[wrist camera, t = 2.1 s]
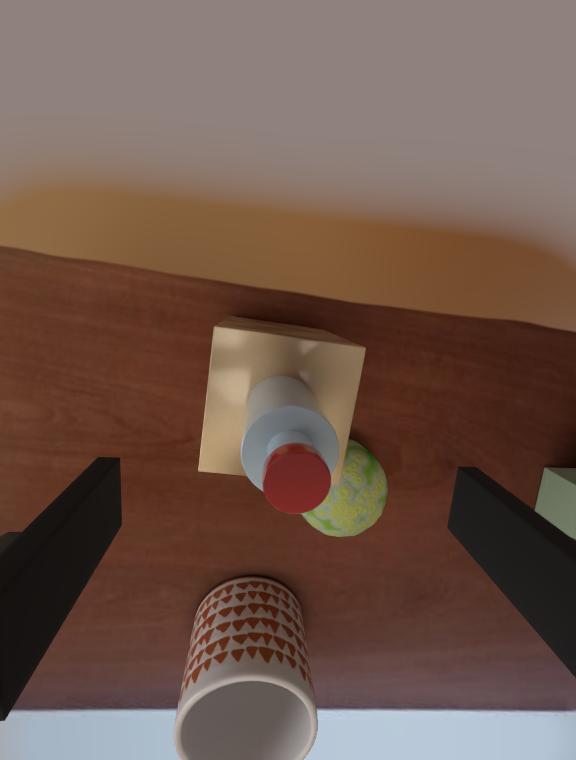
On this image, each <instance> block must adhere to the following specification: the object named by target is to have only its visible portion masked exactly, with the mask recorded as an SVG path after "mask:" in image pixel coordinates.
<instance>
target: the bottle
mask: <svg viewBox="0 0 576 760" xmlns="http://www.w3.org/2000/svg"><path fill="white" fill-rule="evenodd" d="M338 456H339V442H338V438H337V435H336V432H335V430H334V428H333V427H332V425H331V423H330V422H329V420H328V418H327V417H326V415H325V414H324V412H323V410H322V409H321V407H320V405H319V404H318V402H317V400H316V399H315V397H314V396H313V394H312V392H311V391H310V389H309V388H308V387H307V386H306V385H305V384H304V383H302V382H301V381H299V380H297V379H295V378H292V377H288V376H275V377H271V378H268V379H266V380H264V381H262V382H260V383H259V384H258V385H257V386H256V387H255V388H254V389H253V390H252V391H251V393H250V394H249V396H248V398H247V401H246V405H245V414H244V424H243V433H242V442H241V462H242V466H243V469H244V471H245V473H246V475H247V476H248V478H249V479H250V481H251V482H252V483H253V484H254V485H255V486H257V487H258V488H259V489H261V490H262V491H264V494H265V496H266V498H267V500H268V501H269V502H270V503H271V505H273V506H274V507H275V508H277V509H278V510H280V511H282V512H285V513H289V514H301V513H306V512H309V511H311V510H313V509H315V508H316V507H318V506H319V505H320V504H321V503H322V502H323V501H324V500H325V498H326V497H327V495H328V493H329V490H330V487H331V474H332V473H333V471H334V469H335V467H336V464H337V461H338Z"/></svg>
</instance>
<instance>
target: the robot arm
mask: <svg viewBox="0 0 576 760" xmlns="http://www.w3.org/2000/svg"><path fill="white" fill-rule="evenodd" d="M121 525H122V513H121V475H120V458H113V457H98V458H97V459H96V460H95V461H94V462H93V463H92V464H91V465H90V466H89V467H88V468H87V469H86V470H85V471H84V472H83V473H82V474H81V475H79V476H78V477H77V478H76V479H75V480H74V481H73V482H72V483H71V484H70V485H69V486H68V487H67V488H66V489H65V490H64V491H63V492H62V493H61V494H60V495H59V496H58V497H57V498H56V499H55V500H54V501H53V502H52V503H51V504H50V505H49V506H48V507H47V508H46V509H45V510H44V511H43V512H42V513H41V514H40V515H39V516H38V517H37V518H36V519H35V520H34V521H33V522H32V523H31V524H30V525H29V526H28V527H27V528H26V529H25V530H24V531H23V532H7V533H6V534H4V535H2V536H0V721H4V720H5V719H6V717H7V716H8V714H9V712H10V711H11V709H12V707H13V706H14V704H15V702H16V701H17V699H18V697H19V696H20V694H21V692H22V691H23V689H24V687H25V686H26V684H27V682H28V681H29V679H30V677H31V676H32V674H33V672H34V671H35V669H36V667H37V666H38V664H39V662H40V661H41V659H42V657H43V656H44V654H45V652H46V651H47V649H48V647H49V646H50V644H51V642H52V641H53V639H54V637H55V636H56V634H57V632H58V631H59V629H60V627H61V626H62V624H63V622H64V621H65V619H66V617H67V616H68V614H69V612H70V611H71V609H72V607H73V606H74V604H75V602H76V601H77V599H78V597H79V596H80V594H81V592H82V591H83V589H84V587H85V586H86V584H87V582H88V581H89V579H90V577H91V576H92V574H93V572H94V571H95V569H96V567H97V566H98V564H99V562H100V561H101V559H102V557H103V556H104V554H105V552H106V551H107V549H108V547H109V546H110V544H111V542H112V541H113V539H114V537H115V535H116V534H117V532H118V530H119V529H120V527H121ZM447 528H448V529H449V530H450V531H451V533H452V534H453V535H454V536H455V537H456V538H457V540H458V541H459V542H460V543H461V544H462V545H463V547H464V548H465V549H466V550H467V551H468V552H469V554H470V555H471V556H472V557H473V558H474V559H475V561H476V562H477V563H478V564H479V565H480V566H481V568H482V569H483V570H484V571H485V572H486V573H487V575H488V576H489V577H490V578H491V579H492V580H493V582H494V583H495V584H496V585H497V586H498V587H499V589H500V590H501V591H502V592H503V593H504V594H505V596H506V597H507V598H508V599H509V600H510V601H511V603H512V604H513V605H514V606H515V607H516V608H517V610H518V611H519V612H520V613H521V614H522V615H523V617H524V618H525V619H526V620H527V621H528V622H529V624H530V625H531V626H532V627H533V628H534V629H535V631H536V632H537V633H538V634H539V635H540V636H541V638H542V639H543V640H544V641H545V642H546V643H547V645H548V646H549V647H550V648H551V649H552V650H553V652H554V653H555V654H556V655H557V656H558V657H559V659H560V660H561V661H562V662H563V663H564V664H565V666H566V667H567V668H568V669H569V670H570V671H571V673H572V674H573V675H574V676H575V677H576V540H575V539H574V538H572V537H570V536H568V535H567V534H565V533H564V532H563V531H561V530H560V529H559V528H557V527H556V526H555V525H553V524H552V523H551V522H549V521H548V520H547V519H545V518H544V517H542V516H541V515H540V514H538V513H537V512H536V511H534V510H533V509H532V508H530V507H529V506H528V505H526V504H525V503H524V502H522V501H521V500H520V499H518V498H517V497H516V496H514V495H513V494H512V493H510V492H509V491H507V490H506V489H505V488H503V487H502V486H501V485H499V484H498V483H497V482H495V481H494V480H493V479H491V478H490V477H489V476H487V475H486V474H485V473H483V472H482V471H481V470H479V469H478V468H476V467H458V470H457V476H456V482H455V487H454V493H453V499H452V504H451V510H450V516H449V521H448V527H447Z"/></svg>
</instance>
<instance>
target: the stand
mask: <svg viewBox="0 0 576 760" xmlns="http://www.w3.org/2000/svg"><path fill="white" fill-rule="evenodd" d="M365 351H366V348H365V347H363V346H361V345H358V344H356V343H354V342H351V341H349V340H346V339H344V338H342V337H339V336H337V335H335V334H332V333H330V332H327V331H325V330H323V329H316V328H309V327H303V326H296V325H289V324H282V323H276V322H269V321H262V320H256V319H249V318H242V317H235V316H231V317H229V318H227V319H226V320H224V321H222V322H220V323H219V324H217V325H215V326H214V331H213V340H212V350H211V359H210V368H209V377H208V386H207V395H206V405H205V414H204V423H203V432H202V441H201V450H200V460H199V469H198V470H199V471H202V472H212V473H222V474H232V475H243V476H247V475H246V473H245V471H244V469H243V466H242V462H241V442H242V433H243V424H244V414H245V405H246V401H247V398H248V396H249V394H250V393H251V391H252V390H253V389H254V388H255V387H256V386H257V385H258V384H259V383H260V382H262V381H264V380H266V379H268V378H271V377H275V376H288V377H292V378H295V379H297V380H299V381H301V382H302V383H304V384H305V385H306V386H307V387H308V388H309V389H310V391H311V392H312V394H313V396H314V397H315V399H316V400H317V402H318V404H319V405H320V407H321V409H322V410H323V412H324V414H325V415H326V417H327V418H328V420H329V422H330V423H331V425H332V427H333V428H334V430H335V432H336V435H337V438H338V442H339V456H338V461H337V464H336V467H335V469H334V471H333V473H332V474H331V484H334V485H339V484H340V480H341V475H342V470H343V465H344V459H345V454H346V449H347V444H348V439H349V434H350V429H351V423H352V418H353V413H354V408H355V403H356V398H357V393H358V387H359V382H360V377H361V372H362V367H363V362H364V357H365Z"/></svg>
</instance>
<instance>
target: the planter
mask: <svg viewBox="0 0 576 760" xmlns="http://www.w3.org/2000/svg"><path fill="white" fill-rule="evenodd" d="M317 729H318V719H317V711H316V704H315V697H314V691H313V684H312V677H311V670H310V664H309V657H308V650H307V643H306V637H305V630H304V623H303V616H302V611H301V607H300V605H299V602H298V600H297V599H296V597H295V596H294V595H293V593H292V592H291V591H290V590H289V589H288V588H286V587H285V586H284V585H282V584H280V583H279V582H277V581H274V580H272V579H269V578H265V577H258V576H246V577H239V578H235V579H232V580H229V581H227V582H224V583H222V584H221V585H219V586H217V587H216V588H215V589H213V590H212V591H211V592H210V593H209V594H208V595H207V596H206V597H205V598H204V600H203V601H202V602H201V604H200V606H199V608H198V610H197V613H196V617H195V621H194V626H193V632H192V637H191V642H190V647H189V652H188V657H187V663H186V668H185V673H184V678H183V683H182V688H181V693H180V699H179V704H178V709H177V714H176V719H175V725H174V733H173V735H174V736H173V738H174V745H175V748H176V751H177V754H178V756H179V757H180V759H181V760H303V759H304V758H305V757H306V755H307V754H308V753H309V751H310V750H311V748H312V746H313V744H314V741H315V739H316V735H317Z"/></svg>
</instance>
